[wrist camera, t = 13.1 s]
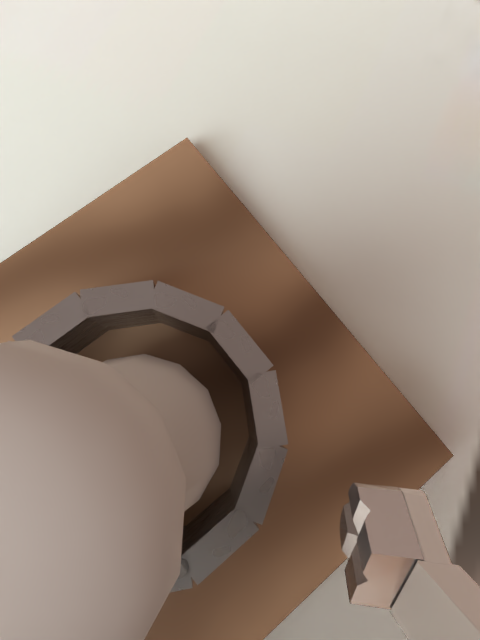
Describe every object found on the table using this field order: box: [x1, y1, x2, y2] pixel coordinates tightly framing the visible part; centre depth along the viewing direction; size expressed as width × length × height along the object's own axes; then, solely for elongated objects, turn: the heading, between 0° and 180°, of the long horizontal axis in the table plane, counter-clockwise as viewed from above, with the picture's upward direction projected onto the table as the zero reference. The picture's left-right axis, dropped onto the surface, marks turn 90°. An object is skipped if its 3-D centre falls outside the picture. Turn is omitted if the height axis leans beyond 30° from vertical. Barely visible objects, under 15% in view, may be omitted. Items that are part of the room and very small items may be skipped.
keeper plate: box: [0, 138, 454, 640], centre depth 17 cm, size 18×18×1 cm
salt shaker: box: [0, 340, 221, 640], centre depth 10 cm, size 6×6×13 cm
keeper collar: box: [8, 280, 288, 593], centre depth 15 cm, size 10×10×3 cm
